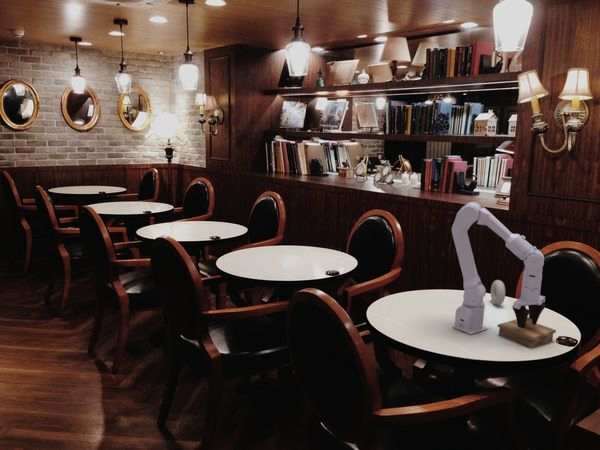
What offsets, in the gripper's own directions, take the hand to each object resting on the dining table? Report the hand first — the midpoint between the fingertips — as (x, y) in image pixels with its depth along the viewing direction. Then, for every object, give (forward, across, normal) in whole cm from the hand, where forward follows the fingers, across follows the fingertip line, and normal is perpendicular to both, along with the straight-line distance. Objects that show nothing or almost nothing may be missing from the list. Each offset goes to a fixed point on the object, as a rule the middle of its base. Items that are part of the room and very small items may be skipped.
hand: (526, 325), depth 178 cm
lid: (+1, 0, 0) cm, 1 cm away
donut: (+5, +21, +27) cm, 35 cm away
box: (+4, 0, 0) cm, 4 cm away
